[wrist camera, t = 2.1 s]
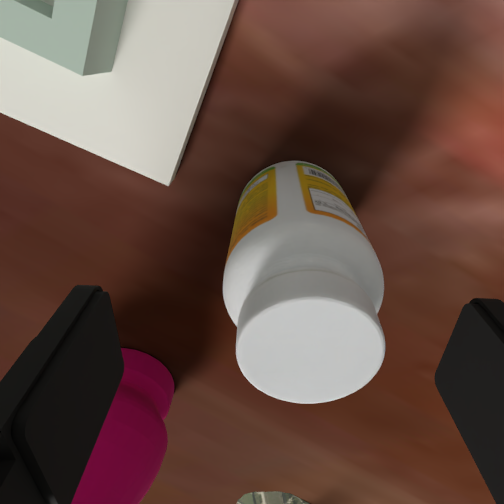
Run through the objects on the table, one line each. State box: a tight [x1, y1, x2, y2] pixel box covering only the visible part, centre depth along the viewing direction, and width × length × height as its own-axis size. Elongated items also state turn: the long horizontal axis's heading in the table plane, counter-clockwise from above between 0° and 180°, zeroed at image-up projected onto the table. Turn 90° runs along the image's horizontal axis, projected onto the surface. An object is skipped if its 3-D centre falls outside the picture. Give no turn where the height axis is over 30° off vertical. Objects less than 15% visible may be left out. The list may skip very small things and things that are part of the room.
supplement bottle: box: [223, 161, 385, 403], centre depth 14 cm, size 5×5×10 cm
